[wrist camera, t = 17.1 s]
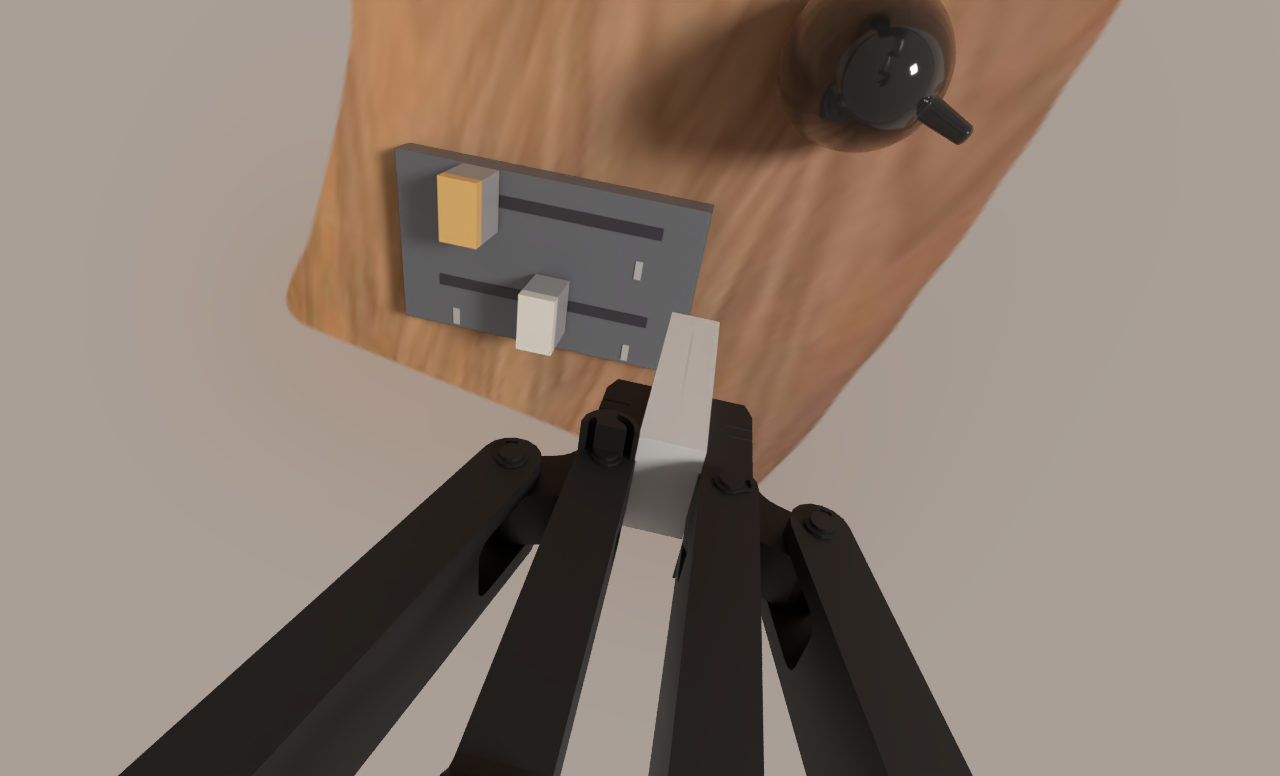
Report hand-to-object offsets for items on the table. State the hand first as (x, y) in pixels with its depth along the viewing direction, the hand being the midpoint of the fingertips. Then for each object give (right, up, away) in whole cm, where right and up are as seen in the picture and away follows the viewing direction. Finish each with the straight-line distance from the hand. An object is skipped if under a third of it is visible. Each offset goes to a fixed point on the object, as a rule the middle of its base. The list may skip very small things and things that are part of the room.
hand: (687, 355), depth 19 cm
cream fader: (-9, +6, +33) cm, 35 cm away
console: (-9, +10, +34) cm, 37 cm away
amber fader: (-15, +14, +29) cm, 36 cm away
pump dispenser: (+13, +22, +23) cm, 34 cm away
